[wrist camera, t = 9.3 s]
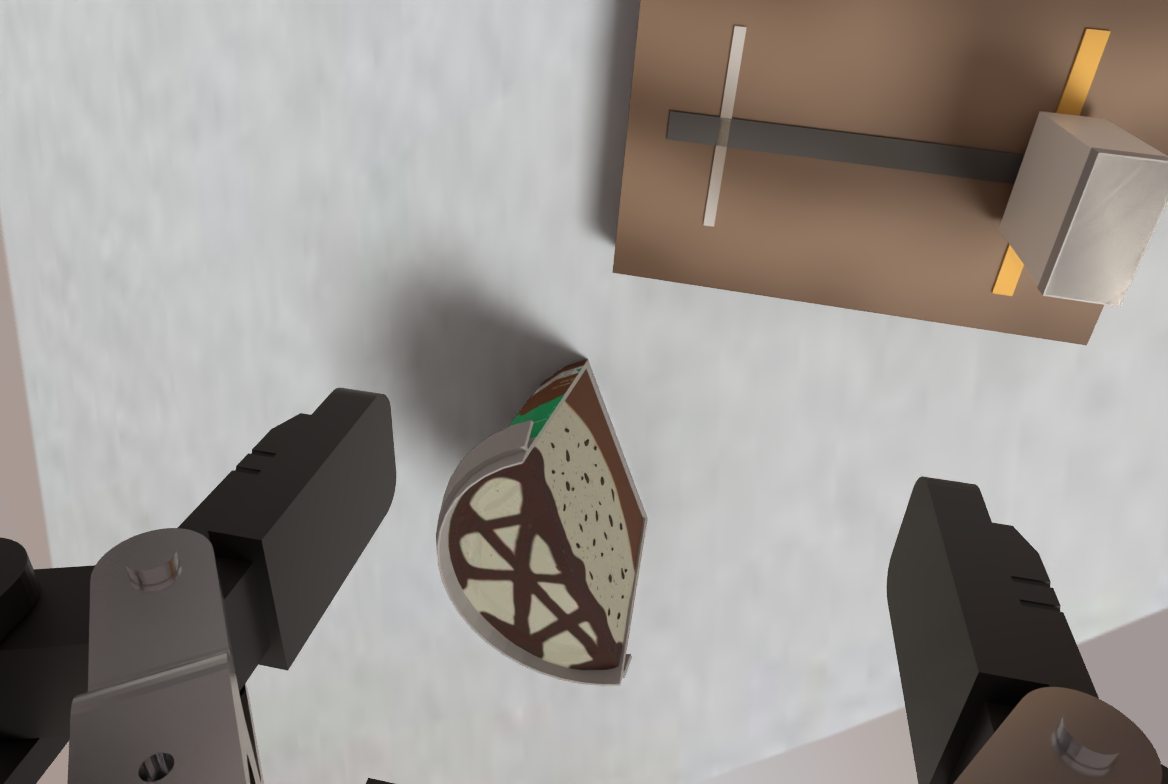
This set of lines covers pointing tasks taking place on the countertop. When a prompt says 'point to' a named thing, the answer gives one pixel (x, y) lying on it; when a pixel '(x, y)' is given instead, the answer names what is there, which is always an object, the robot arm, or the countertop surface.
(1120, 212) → the fader tab
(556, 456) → the food container
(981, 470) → the countertop surface
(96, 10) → the countertop surface
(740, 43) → the fader console
